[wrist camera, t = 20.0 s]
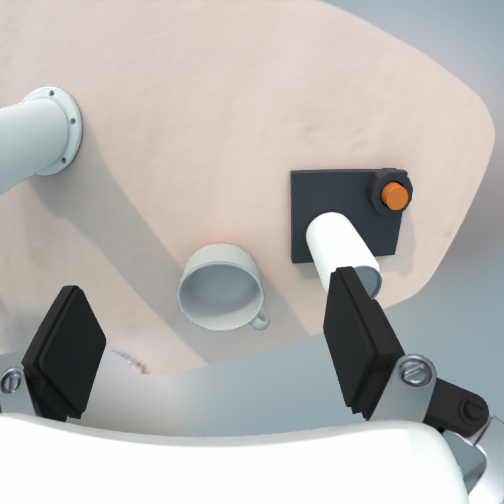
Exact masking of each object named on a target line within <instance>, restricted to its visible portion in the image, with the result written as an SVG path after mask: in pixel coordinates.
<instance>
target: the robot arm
mask: <svg viewBox="0 0 504 504" xmlns="http://www.w3.org/2000/svg"><path fill="white" fill-rule="evenodd" d="M75 120H76V122H75ZM81 135H82V123H81V116H80V112H79V109H78V107H77V105H76V103H75V101H74V100H73V98H72V97H71V96H70V95H69V94H68V93H67V92H66V91H64V90H62V89H60V88H57V87H43V88H39V89H36V90H34V91H32V92H31V93H30V94H29V95H27V96H26V97H25V98H24V100H23V101H22V102H21V103H19V104H15V105H11V106H8V107H4V108H0V196H1V195H3V194H4V193H5V192H7V191H8V190H10V189H11V188H13V187H14V186H16V185H17V184H19V183H20V182H22V181H24V180H25V179H27V178H28V177H30V176H32V175H33V174H38V175H43V176H47V175H53V174H55V173H58V172H59V171H61V170H62V169H64V168H65V167H66V166H67V165H69V163H70V162H71V161H72V160H73V158H74V156H75V155H76V153H77V151H78V148H79V145H80V141H81ZM323 329H324V334H325V338H326V341H327V344H328V347H329V351H330V354H331V357H332V360H333V364H334V367H335V370H336V374H337V377H338V380H339V384H340V387H341V391H342V394H343V397H344V401H345V404H346V406H347V407H351V409H352V412H353V414H356V413H360V412H362V415H363V418H365V419H366V420H365V421H363V422H356V423H350V424H343V425H336V426H330V427H324V428H318V429H311V430H303V431H295V432H286V433H277V434H265V435H252V436H233V437H178V436H159V435H146V434H135V433H126V432H118V431H109V430H103V429H97V428H91V427H85V426H80V425H75V424H70V423H68V422H67V420H66V419H67V415H68V416H69V417H70V418H76V419H81V415H82V413H83V412H84V411H85V410H86V406H87V403H88V399H89V396H90V392H91V389H92V386H93V382H94V379H95V376H96V373H97V370H98V367H99V364H100V360H101V358H102V354H103V352H104V349H105V346H106V337H105V335H104V333H103V331H102V329H101V327H100V325H99V323H98V321H97V319H96V317H95V315H94V313H93V311H92V309H91V307H90V305H89V303H88V301H87V298H86V296H85V294H84V292H83V290H82V289H80V288H79V287H78V286H76V285H73V286H64V287H63V288H62V289H61V291H60V293H59V294H58V296H57V298H56V299H55V301H54V303H53V304H52V306H51V308H50V309H49V311H48V313H47V315H46V316H45V318H44V320H43V322H42V323H41V325H40V327H39V329H38V331H37V333H36V334H35V336H34V338H33V340H32V342H31V344H30V346H29V348H28V350H27V352H26V354H25V356H24V358H23V360H22V362H21V364H22V365H23V366H24V369H23V370H22V369H21V368H19V367H11V368H8V369H7V370H6V371H4V372H3V373H2V375H1V376H0V504H502V503H503V502H504V422H502V421H501V420H500V419H499V418H497V417H496V416H495V415H494V416H493V417H491V416H490V415H489V409H488V406H487V404H486V402H485V401H484V399H483V398H482V397H480V396H478V395H477V394H474V393H472V392H470V391H467V390H465V389H463V388H460V387H458V386H455V385H453V384H451V383H448V382H446V381H444V380H441V379H439V378H437V373H436V369H435V366H434V365H433V363H432V362H431V361H430V360H429V359H428V358H426V357H424V356H422V355H418V354H408V355H405V353H404V351H403V349H402V347H401V345H400V343H399V341H398V339H397V337H396V335H395V333H394V331H393V329H392V327H391V325H390V323H389V321H388V319H387V318H386V316H385V314H384V312H383V310H382V308H381V306H380V305H379V303H378V302H377V300H375V299H372V300H371V299H370V297H369V295H368V293H367V291H366V289H365V288H364V286H363V284H362V282H361V280H360V278H359V277H358V275H357V273H356V271H355V270H354V268H353V267H352V266H345V267H337V268H336V270H335V272H331V275H330V282H329V290H328V297H327V304H326V311H325V318H324V324H323ZM455 459H456V460H455ZM458 465H459V466H460V467H461V469H462V470H463V474H464V478H462V475H461V472H460V469H459V467H458Z"/></svg>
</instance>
